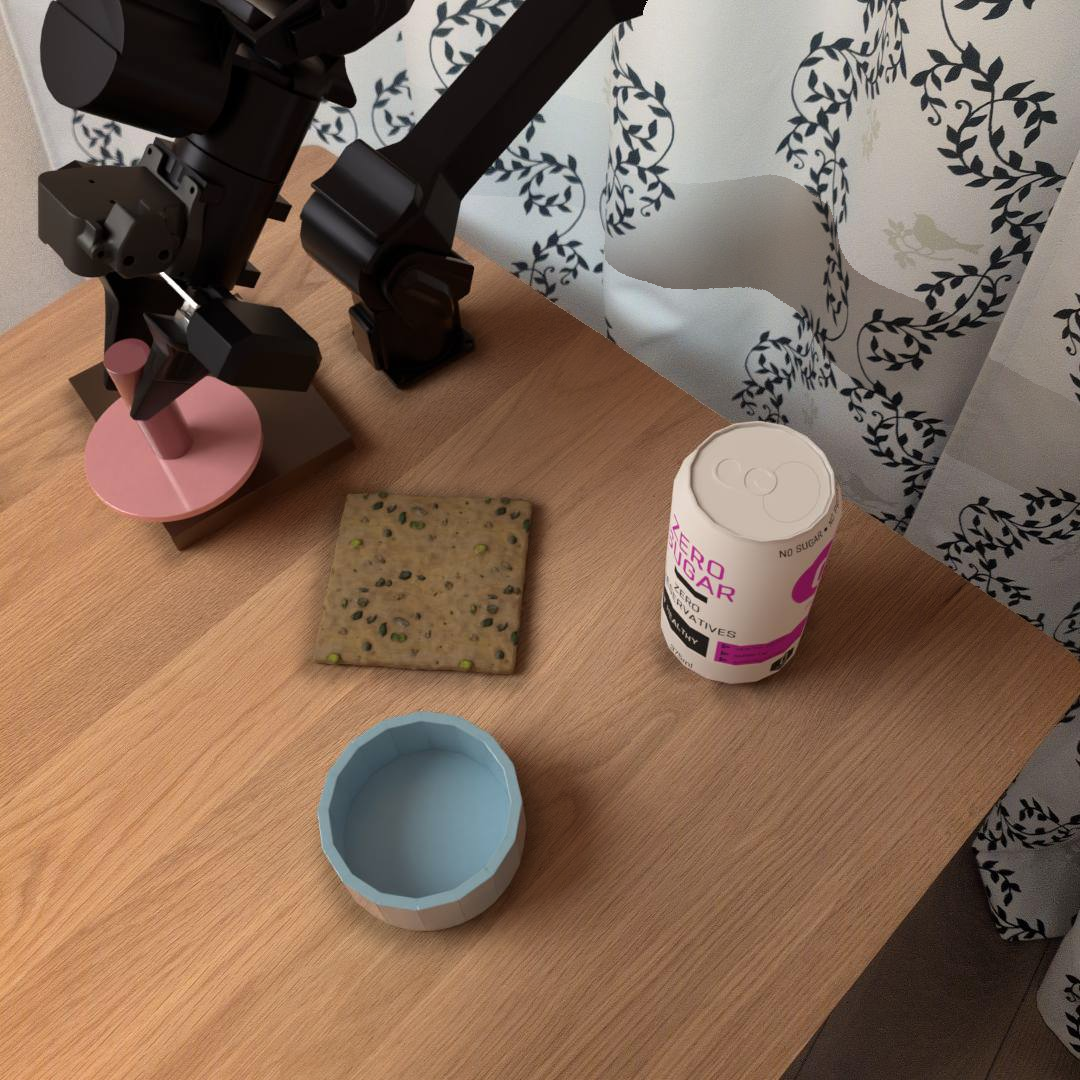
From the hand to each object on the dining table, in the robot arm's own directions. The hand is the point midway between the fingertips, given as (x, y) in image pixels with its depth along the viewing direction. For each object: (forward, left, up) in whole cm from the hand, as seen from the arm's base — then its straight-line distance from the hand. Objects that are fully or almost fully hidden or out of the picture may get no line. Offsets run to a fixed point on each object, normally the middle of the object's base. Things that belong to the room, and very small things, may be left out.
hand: (124, 403), depth 65 cm
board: (-5, -5, -10) cm, 12 cm away
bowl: (-1, +28, -10) cm, 30 cm away
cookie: (-10, +15, -10) cm, 20 cm away
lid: (-1, 0, -6) cm, 6 cm away
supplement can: (-22, +28, -10) cm, 37 cm away
